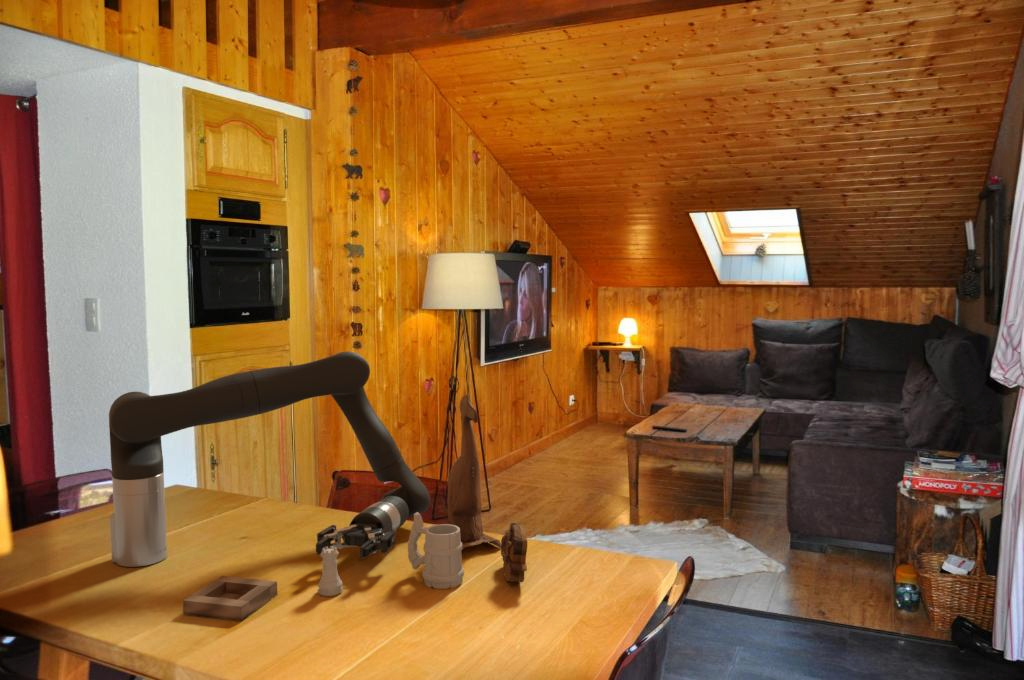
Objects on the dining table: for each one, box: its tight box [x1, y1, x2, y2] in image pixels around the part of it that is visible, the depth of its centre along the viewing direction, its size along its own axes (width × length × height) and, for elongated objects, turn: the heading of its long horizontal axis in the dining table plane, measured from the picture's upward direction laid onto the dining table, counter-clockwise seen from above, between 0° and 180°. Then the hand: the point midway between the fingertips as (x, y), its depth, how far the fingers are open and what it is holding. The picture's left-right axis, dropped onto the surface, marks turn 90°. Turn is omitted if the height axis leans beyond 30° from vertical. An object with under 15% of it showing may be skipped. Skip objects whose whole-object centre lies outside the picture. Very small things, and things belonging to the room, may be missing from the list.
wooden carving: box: [500, 522, 528, 583], centre depth 150 cm, size 16×5×10 cm, turn 12°
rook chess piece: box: [317, 546, 344, 597], centre depth 144 cm, size 4×4×8 cm
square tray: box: [182, 575, 278, 622], centre depth 139 cm, size 11×11×2 cm
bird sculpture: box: [447, 394, 501, 550], centre depth 166 cm, size 11×12×32 cm
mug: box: [407, 512, 465, 590], centre depth 150 cm, size 8×12×12 cm, turn 59°
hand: (339, 551), depth 148 cm, fingers open, 8 cm apart
